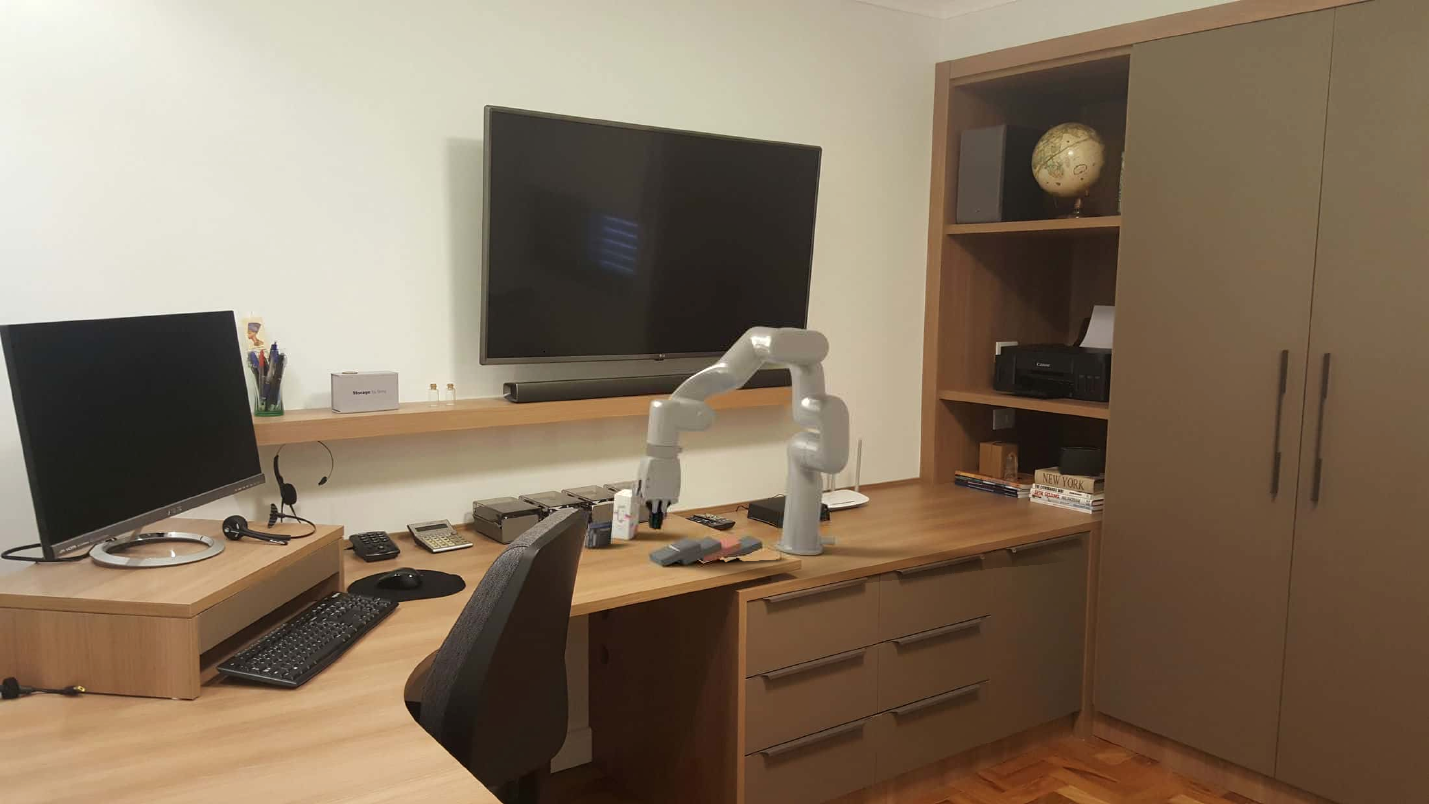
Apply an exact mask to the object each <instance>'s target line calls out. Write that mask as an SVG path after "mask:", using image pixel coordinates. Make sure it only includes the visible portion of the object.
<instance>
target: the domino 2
mask: <svg viewBox="0 0 1429 804" xmlns="http://www.w3.org/2000/svg"><path fill="white" fill-rule="evenodd" d="M695 541H696V542H698V543H700V546H701V551H699V552H697V553H694V554H692V555H690V556H687V557H685V558H682V559H680V560H678V562H680V563H682V564H683V566H687V565H689V564H692V563H694V562H696V561H697V560H698V559H701V558H703V557H705V556H708V555H710V554H712V553H715V552H717V551H719V550H722V545H721V542H719V541H718V540H716V539H714V538H712V537H711V536H710V537H709V536H706V537H704V538H701V539H699V540H695ZM678 562H677V563H678ZM680 563H679V564H680ZM682 564H681V565H682Z"/></svg>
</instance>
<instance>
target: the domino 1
mask: <svg viewBox="0 0 1429 804" xmlns="http://www.w3.org/2000/svg"><path fill="white" fill-rule="evenodd" d="M696 541H697V540H693V539H691V538H689V537H686V538H683V539H681V540H678V541H675V542H674V543H670V544H669V545H666V546H664V547H661V548H659V549H656V550H653V551H652V552H649V553H648V556H649V561H651V562H653V563H654V564H656V565H658V566H660V567H661V568H663V567H665V566H669V565H670V564H673V563H675V562H677V561H678V560H680V559H682V558H685V557H687V556H690V555H692V554H694V553H697V552H699V551H701V546H700V543H698V542H696Z"/></svg>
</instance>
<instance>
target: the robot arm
mask: <svg viewBox="0 0 1429 804" xmlns="http://www.w3.org/2000/svg"><path fill="white" fill-rule="evenodd" d="M829 350H830V343H829V341H828V338H827V337H826V336H825V335H824V333H822V332H821V331H817V330H812V329H804V328H798V327H797V328H795V327H780V328H777V327H775V328H774V327H768V326H767V327H766V326H754V327H751V328H749V329H748V330H747V331H745V333H744V334H742V336H741V337H740V338H739V339H738V340H737V341H736V342H735V343H734V344H733V345H732V346H731V348H729V349H728V351H726V353H725V354H723V356H722V357H721V358H720V359H719V360H718V361H717V362H716V363H714V364H713V365H711V366H709V367H706V368H705V369H703V370H701V371H700V372H698V373H696V374H694V375H693V376H691V377H689V378H688V379H686V380H685V381H684V382H682V383H681V384H680V385H679V386H678V387H677V388H676V390H675V391H673V393H672V394H671V395H670V396H668V397H669V398H655V399H653V400H652V401H651V402H650V405H649V406H650V407H649V414H648V415H649V417H648V426H647V428H648V429H647V437H646V450H645V455H642V457H641V458H640V463H639V465H638V466H639V467H638V469H637V470H638V471H637V474H636V481H635V482H636V486H635V494H636V495H637V496H638V497H637V500H636V502H637V503H638V504H640V505H641V506H645V507H646V509H647V510H648V511H649V512H648V523H647V524H648V526H649V527H648V528H650V529H652V530H654V531H655V530H662V525H663V522H664V514H665V513H666V511H667V509H668V508H669V507H670V506H673V505H677V504H678V503H679V497H680V495H681V485H682V484H681V483H682V482H681V481H682V479H681V478H682V471H681V470H682V469H681V461H680V460H681V459H680V458H679V454H681V453H683V451H684V450H683V447H681V446H680V436H681V435H680V434H681V431H684V432H691V433H697V434H698V433H705V432H706V431H708V430H709V429H711V428H712V427H713V425H714V423H715V421H716V420H715V419H716V413H715V411H714V409H713V407H712V406H711V405H710V404H709V403H706V402H705V401H706V400H707V399H709V398H712V397H714V396H717V395H721V394H725V393H730V392H733V391H735V390H739V389H741V388H742V387H743V386H744V385H745V384H746V383H747V382H748V381H749V380H750V379H751V378H752V376H753V375H754V374H755V373H756V372H757V371H758V370H759V369H760V367H762V365H763V364H764V363H766V362H767V363H772V364H779V365H780V364H781V365H786V366H787V368H788V369H789V372H790V376H791V387H792V388H791V390H792V391H791V392H792V393H791V397H792V398H791V402H792V405H791V406H792V408H791V409H792V418H793V421H794V422H795V423H796V425H799V426H800V427H804V428H808V429H812V430H815V431H819V433H817V432H812V431H799V432H796V433H795V434H794V435H792V436H791V437H790V439H789V441H788V443H787V447H786V457H787V484H786V494H785V502H784V503H785V505H784V512H783V513H784V514H783V521H782V530H781V539H779V540H777V541H776V542H775V543H774V547H775V548H776V549H777V550H778V551H781V552H783V553H786V554H791V555H792V554H793V555H799V556H817V555H820V554H822V553H823V546H834V547H835V545H836V539H835V538H834V537H833V538H830V537H828V536H822V535H820V534H819V531H820V530H819V529H820V520H821V512H822V511H821V510H822V501H823V493H824V481H823V476H822V473H824V474H828V475H837V474H840V473H841V472H842V471H843V470H844V469H845V468H846V467H847V464H848V460H849V457H850V412H849V409H848V406H847V404H846V402H845V401H844V400H843V399H842V398H840V397H838V396H836V395H831V394H827V393H826V392H827V391H826V383H825V382H826V381H825V370H824V367H823V364H822V362H823V361H824V360H825V359H826V357H827V356H828V354H829Z"/></svg>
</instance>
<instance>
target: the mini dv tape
mask: <svg viewBox="0 0 1429 804" xmlns="http://www.w3.org/2000/svg"><path fill="white" fill-rule="evenodd" d="M588 523H589V522H588ZM588 523H587V524H588ZM612 524H613V520H612V521H611V520H602V521H596V522H595V521H594V522H590V523H589V524H588V529H587V536H586V540H585V547H584V546H583V549H588V550H589V549H590V550H591V549H594V548H600V547H604V546H606V547H607V546H610V545H612V538H611V536H612Z"/></svg>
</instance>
